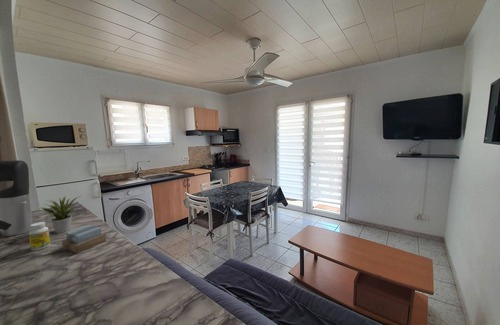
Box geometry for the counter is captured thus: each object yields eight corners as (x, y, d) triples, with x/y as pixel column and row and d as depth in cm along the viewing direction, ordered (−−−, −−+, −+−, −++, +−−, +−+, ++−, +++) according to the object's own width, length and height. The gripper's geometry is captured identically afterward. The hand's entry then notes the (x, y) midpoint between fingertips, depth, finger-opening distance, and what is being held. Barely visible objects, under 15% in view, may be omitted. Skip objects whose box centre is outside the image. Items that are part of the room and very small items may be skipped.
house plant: (76, 221, 103) (73, 191, 102) (91, 226, 97) (88, 193, 96) (38, 232, 91) (34, 197, 89) (52, 238, 85) (48, 201, 83)
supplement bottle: (52, 242, 82) (49, 220, 81) (48, 248, 77) (45, 224, 76) (33, 246, 79) (30, 223, 78) (28, 252, 74) (25, 227, 73)
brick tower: (62, 247, 77) (61, 233, 77) (91, 236, 86) (90, 223, 86) (77, 253, 73) (76, 237, 73) (106, 240, 83) (104, 227, 82)
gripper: (-39, 194, 57) (23, 218, 68) (-55, 189, 62) (5, 213, 74) (-71, 218, 52) (1, 240, 64) (-85, 211, 58) (-16, 232, 69)
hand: (3, 225), depth 69 cm, fingers open, 8 cm apart
